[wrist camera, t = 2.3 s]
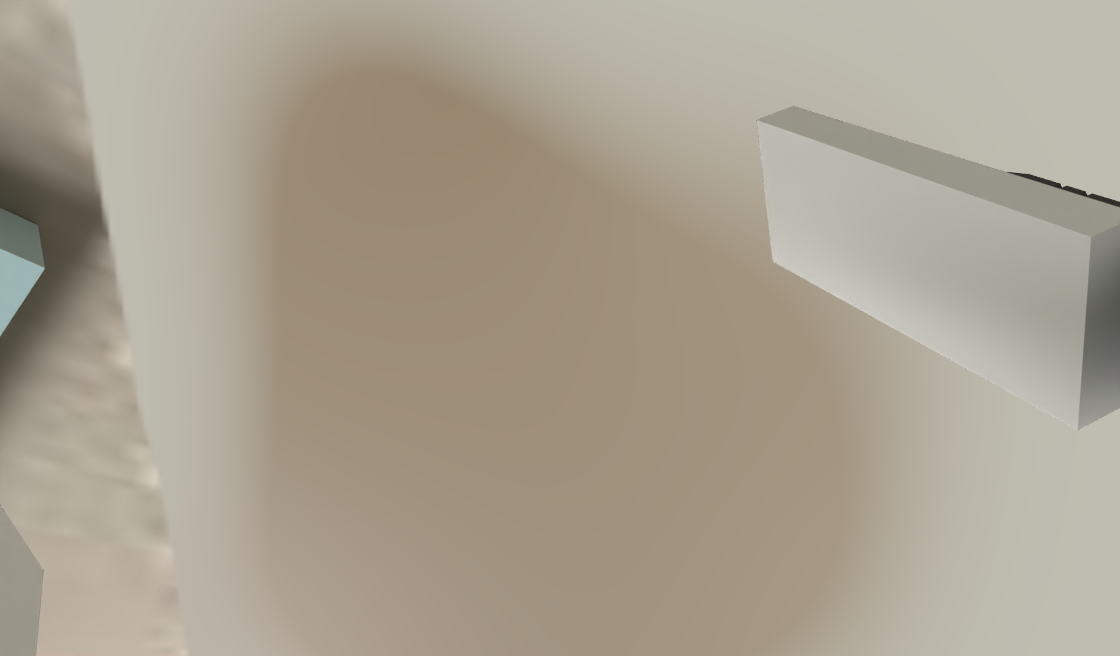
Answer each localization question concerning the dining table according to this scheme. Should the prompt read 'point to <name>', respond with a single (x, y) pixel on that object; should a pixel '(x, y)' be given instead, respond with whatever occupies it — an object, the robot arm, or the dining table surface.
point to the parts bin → (17, 263)
